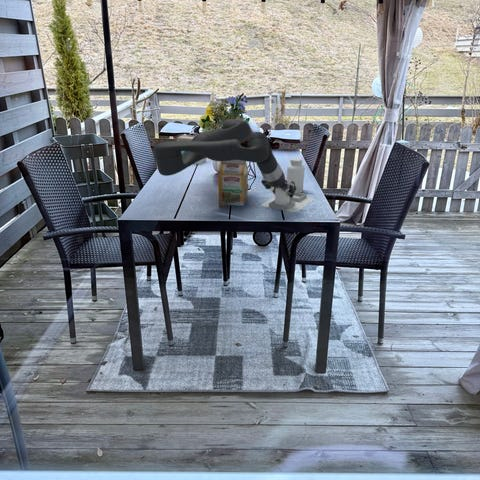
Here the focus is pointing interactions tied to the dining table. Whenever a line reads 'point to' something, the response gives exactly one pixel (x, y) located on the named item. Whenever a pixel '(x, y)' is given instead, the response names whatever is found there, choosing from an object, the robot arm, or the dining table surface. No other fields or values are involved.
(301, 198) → the panel
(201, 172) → the dining table surface
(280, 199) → the plug
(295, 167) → the pill bottle
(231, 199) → the milk carton
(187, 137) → the tea box
